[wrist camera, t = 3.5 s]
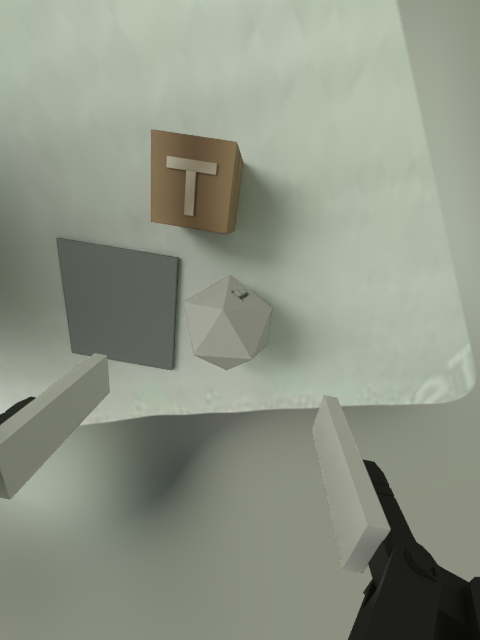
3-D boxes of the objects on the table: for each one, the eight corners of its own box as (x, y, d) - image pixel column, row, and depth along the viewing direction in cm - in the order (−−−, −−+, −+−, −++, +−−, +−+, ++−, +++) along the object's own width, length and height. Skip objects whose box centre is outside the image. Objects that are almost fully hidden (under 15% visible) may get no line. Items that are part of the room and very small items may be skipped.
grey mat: (74, 350, 32) (72, 352, 31) (60, 238, 26) (56, 238, 26) (173, 368, 31) (172, 370, 31) (178, 257, 26) (177, 258, 26)
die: (282, 328, 29) (296, 301, 19) (234, 386, 27) (225, 386, 18) (230, 287, 30) (220, 244, 21) (182, 340, 29) (149, 318, 20)
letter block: (175, 221, 25) (150, 221, 19) (178, 152, 22) (150, 128, 17) (234, 231, 25) (225, 233, 19) (243, 161, 22) (236, 141, 17)
